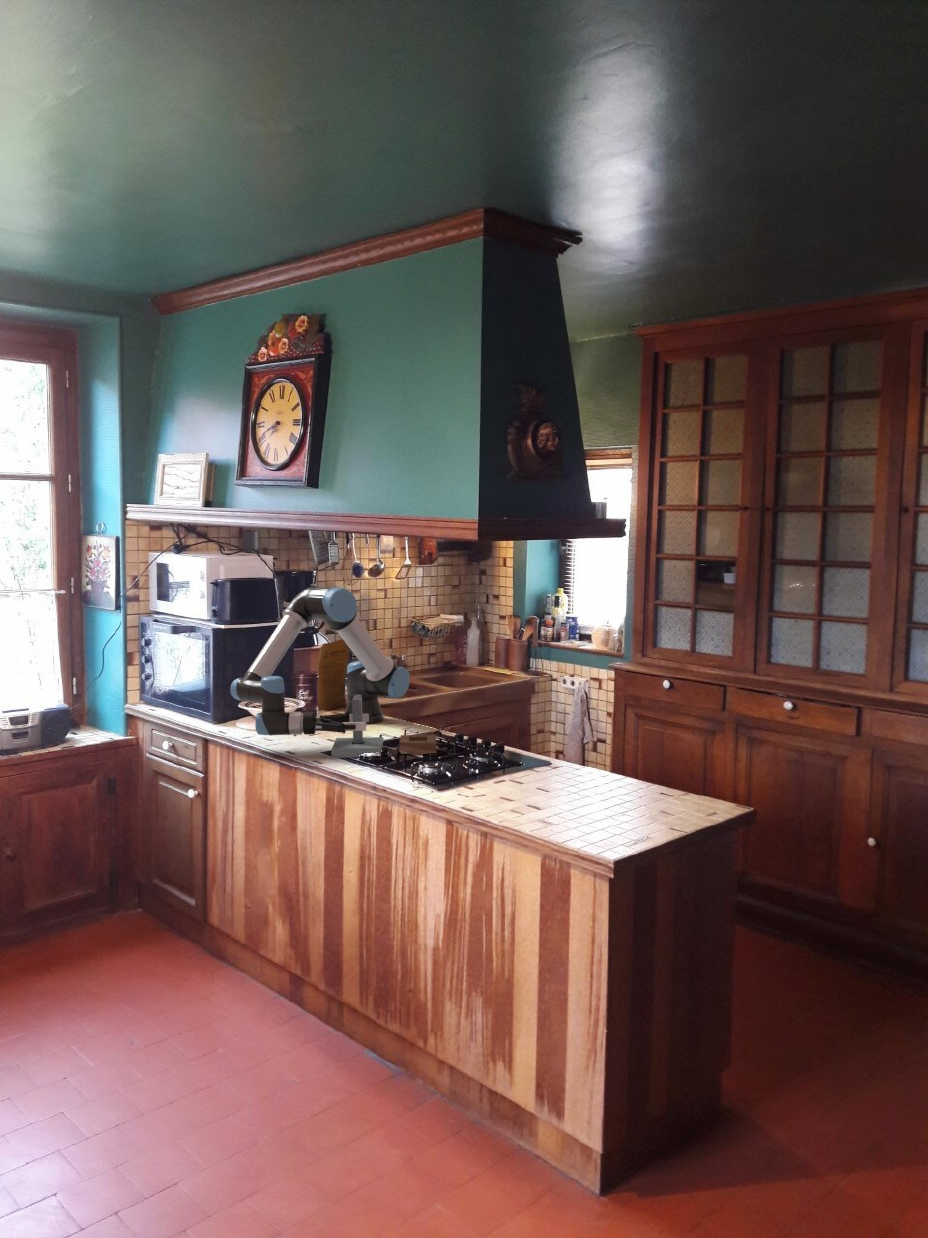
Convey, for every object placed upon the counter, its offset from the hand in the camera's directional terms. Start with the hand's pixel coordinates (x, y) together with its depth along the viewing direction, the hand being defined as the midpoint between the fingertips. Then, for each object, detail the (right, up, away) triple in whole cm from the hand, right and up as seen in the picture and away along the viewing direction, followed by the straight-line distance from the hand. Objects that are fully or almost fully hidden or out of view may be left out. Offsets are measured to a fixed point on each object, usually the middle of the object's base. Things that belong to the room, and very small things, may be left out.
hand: (367, 722), depth 331 cm
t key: (-3, -10, +1) cm, 11 cm away
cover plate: (-3, -10, +1) cm, 11 cm away
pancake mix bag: (-21, -3, +79) cm, 81 cm away
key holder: (+17, -10, +1) cm, 19 cm away
